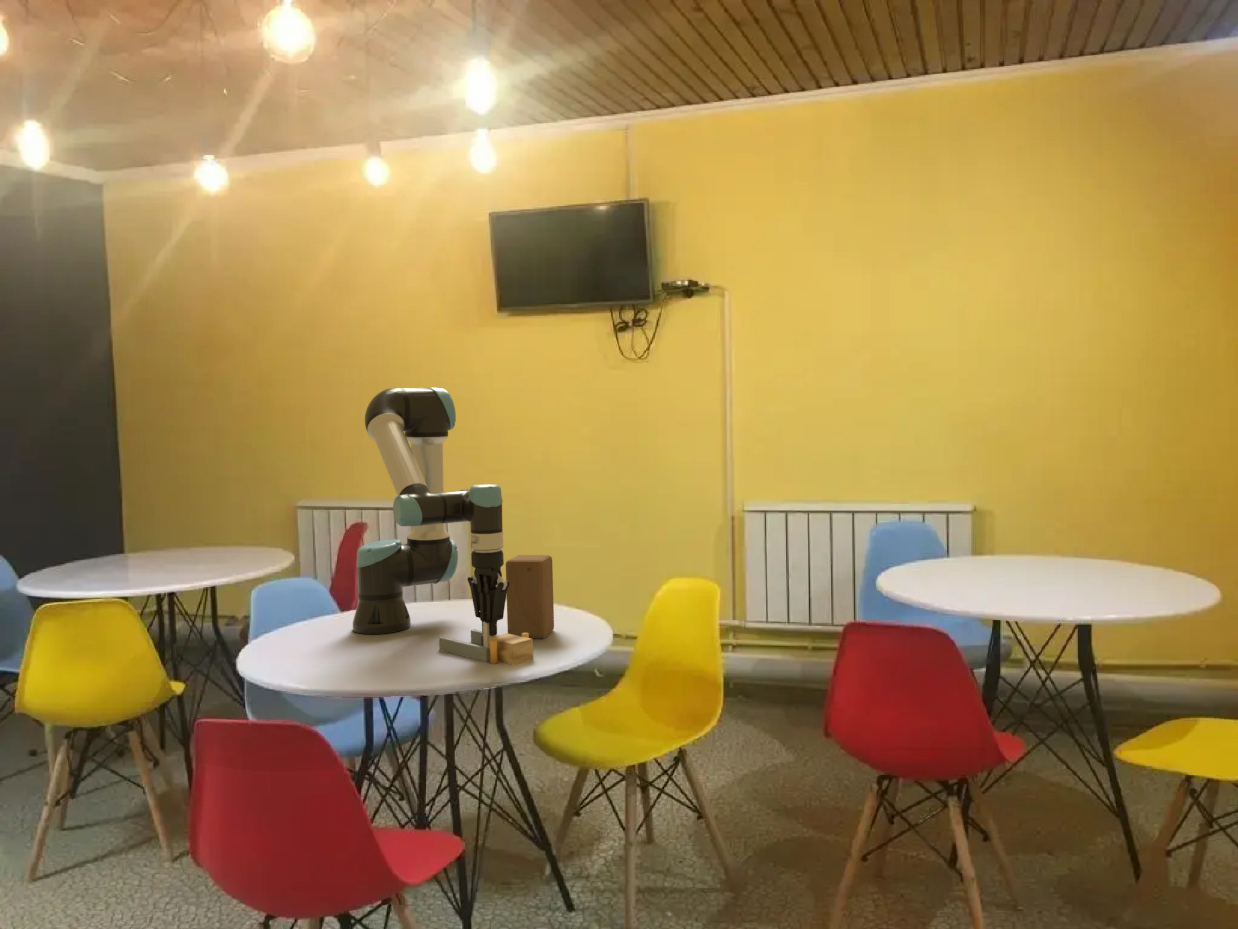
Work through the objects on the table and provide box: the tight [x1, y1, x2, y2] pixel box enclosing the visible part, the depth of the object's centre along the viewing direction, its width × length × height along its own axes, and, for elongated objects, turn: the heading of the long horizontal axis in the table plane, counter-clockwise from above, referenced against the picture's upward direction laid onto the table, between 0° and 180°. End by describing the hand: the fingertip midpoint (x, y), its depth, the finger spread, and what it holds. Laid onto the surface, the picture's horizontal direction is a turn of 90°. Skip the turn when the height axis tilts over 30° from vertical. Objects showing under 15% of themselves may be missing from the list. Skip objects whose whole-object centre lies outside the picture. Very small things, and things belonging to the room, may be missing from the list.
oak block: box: [488, 632, 534, 666], centre depth 213 cm, size 9×6×5 cm, turn 47°
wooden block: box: [505, 554, 555, 640], centre depth 236 cm, size 10×10×20 cm
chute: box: [438, 628, 529, 665], centre depth 219 cm, size 21×11×5 cm, turn 47°
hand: (490, 648), depth 218 cm, fingers closed
